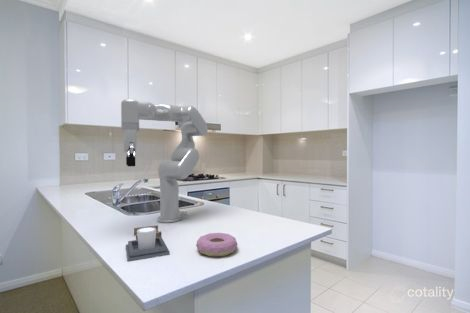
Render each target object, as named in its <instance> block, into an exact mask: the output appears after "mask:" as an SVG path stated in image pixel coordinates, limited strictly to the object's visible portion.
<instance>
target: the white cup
mask: <svg viewBox="0 0 470 313" xmlns="http://www.w3.org/2000/svg"><path fill="white" fill-rule="evenodd" d="M144 227H145V228H140V229H138V230H137V237H138V247H139V250H143V249H150V248H155V239H156V228H153V227H147V226H144Z"/></svg>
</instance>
